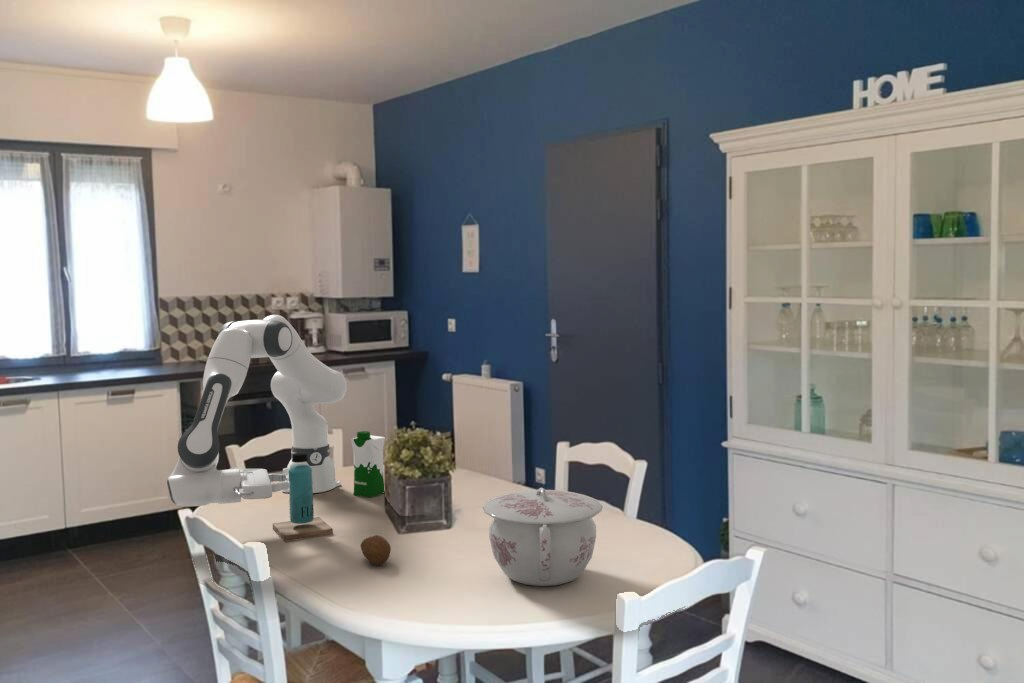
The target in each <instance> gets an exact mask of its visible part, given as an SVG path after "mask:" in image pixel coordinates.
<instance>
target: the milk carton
mask: <svg viewBox="0 0 1024 683" xmlns="http://www.w3.org/2000/svg"><path fill="white" fill-rule="evenodd" d="M385 441H386V437H385V436H380V435H379V436H377V435H372V434H371V432H370V431H368V430H367V431H365V430H363V431H358V432H356V437H353V438H350V442H351V445H352V446H351V447H352V452H353V495H354V496H358V497H363V498H367V499H371V498H374V497H377V496H380V495H383V494H384V493H383V492H384V486H385V478H384V446H385Z"/></svg>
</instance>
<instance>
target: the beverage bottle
mask: <svg viewBox="0 0 1024 683" xmlns="http://www.w3.org/2000/svg"><path fill="white" fill-rule="evenodd" d="M291 459H292V462H306V461H308V458H307V453H294V454H292V457H291ZM288 472H289V491H290V492H289V500H288V501H289V512H288V513H289V521H291V522H292V523H296V524H303V523H309V522H311V521H313V518H315V515H314V514H315V511H314V506H315V505H314V495H313V494H314V493H313V488H312V483H313V482H312V468H311V467H310V466H308V465H306V464H298V465H293V466H292V467H291V468H290V469H289V471H288Z"/></svg>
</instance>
